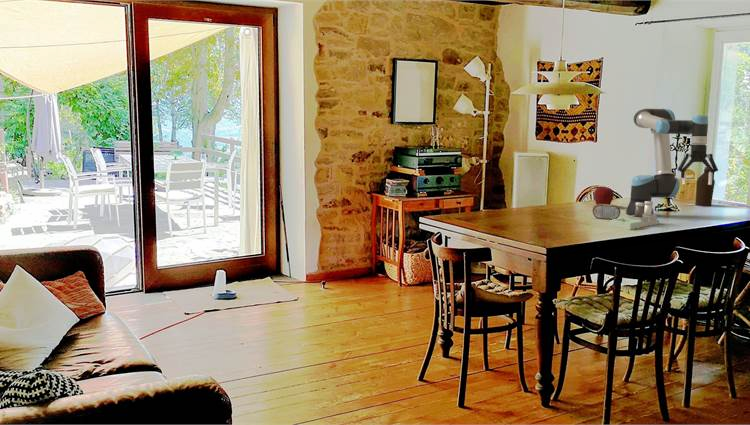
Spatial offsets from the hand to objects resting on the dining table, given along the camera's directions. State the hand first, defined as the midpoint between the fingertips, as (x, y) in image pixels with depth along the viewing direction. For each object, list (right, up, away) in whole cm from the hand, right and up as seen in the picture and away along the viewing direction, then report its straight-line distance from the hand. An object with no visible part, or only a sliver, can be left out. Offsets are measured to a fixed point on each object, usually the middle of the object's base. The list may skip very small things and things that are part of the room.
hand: (697, 184), depth 364 cm
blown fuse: (-28, -20, +9) cm, 35 cm away
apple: (-28, -12, +67) cm, 74 cm away
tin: (-40, -19, +25) cm, 51 cm away
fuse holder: (-24, -21, +12) cm, 35 cm away
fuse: (-21, -19, +14) cm, 32 cm away
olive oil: (+43, -10, +82) cm, 93 cm away
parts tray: (-37, -23, +2) cm, 43 cm away
